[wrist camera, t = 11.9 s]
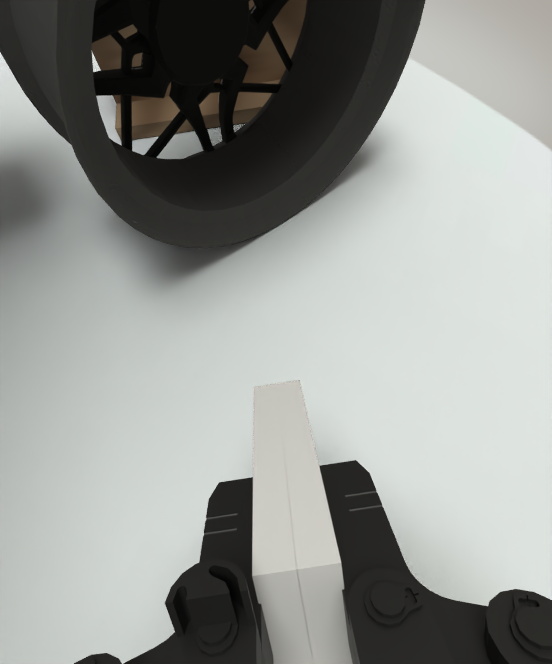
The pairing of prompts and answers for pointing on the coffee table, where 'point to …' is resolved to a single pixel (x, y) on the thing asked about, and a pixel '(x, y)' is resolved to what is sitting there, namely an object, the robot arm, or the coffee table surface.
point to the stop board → (262, 68)
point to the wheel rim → (195, 85)
